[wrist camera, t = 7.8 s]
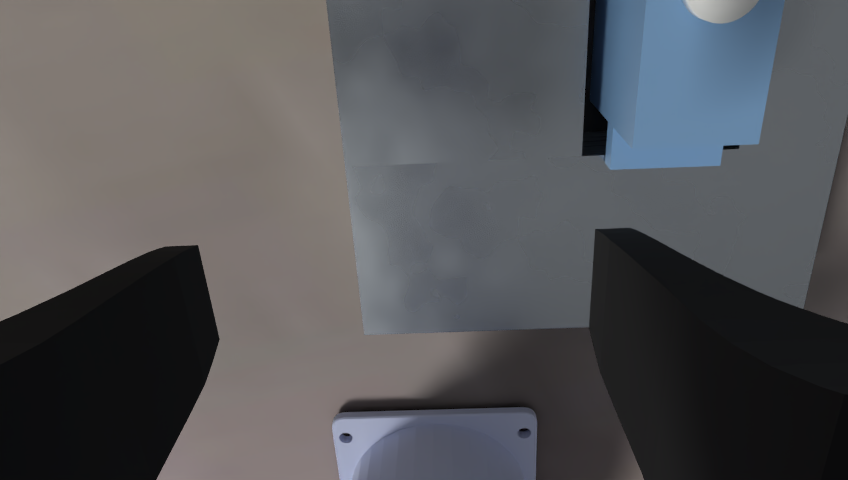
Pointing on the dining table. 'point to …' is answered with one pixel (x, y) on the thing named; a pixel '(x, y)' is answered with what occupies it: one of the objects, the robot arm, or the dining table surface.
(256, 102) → the dining table surface
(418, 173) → the plate
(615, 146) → the block
